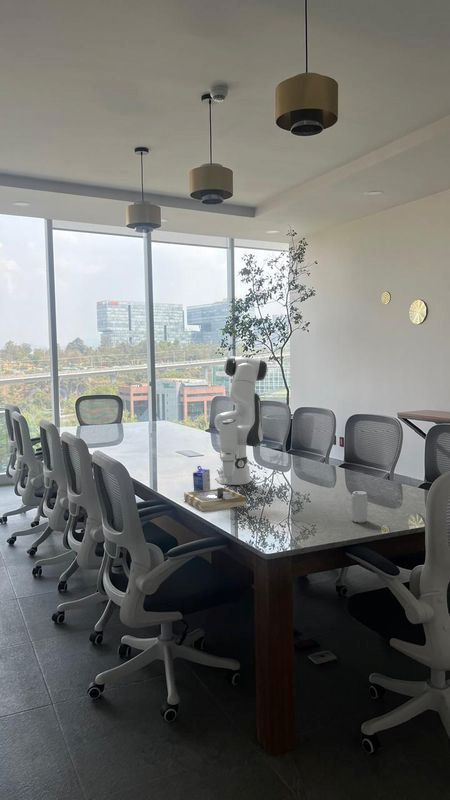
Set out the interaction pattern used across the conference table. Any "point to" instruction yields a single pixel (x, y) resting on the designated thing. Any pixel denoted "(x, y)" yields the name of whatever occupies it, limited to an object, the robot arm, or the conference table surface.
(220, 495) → the dial
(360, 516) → the beverage can
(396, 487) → the conference table surface
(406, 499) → the conference table surface
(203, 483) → the ink cartridge box
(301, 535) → the conference table surface
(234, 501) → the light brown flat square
